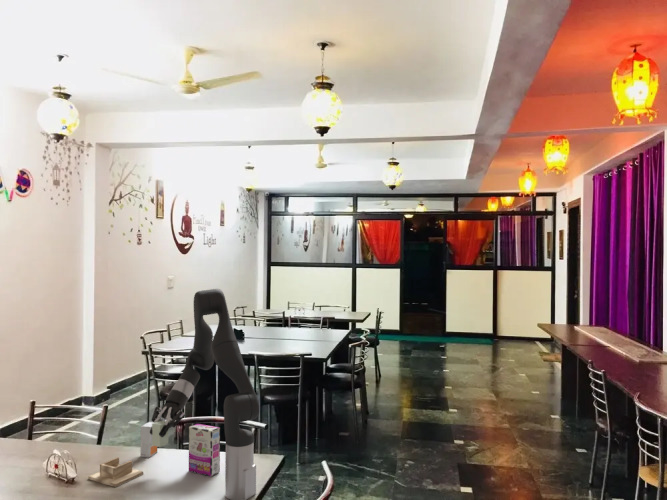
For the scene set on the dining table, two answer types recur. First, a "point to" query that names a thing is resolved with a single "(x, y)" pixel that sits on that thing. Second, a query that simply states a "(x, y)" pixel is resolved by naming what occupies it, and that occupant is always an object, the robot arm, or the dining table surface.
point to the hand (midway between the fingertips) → (156, 434)
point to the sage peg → (156, 430)
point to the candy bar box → (204, 449)
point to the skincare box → (147, 441)
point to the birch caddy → (115, 473)
